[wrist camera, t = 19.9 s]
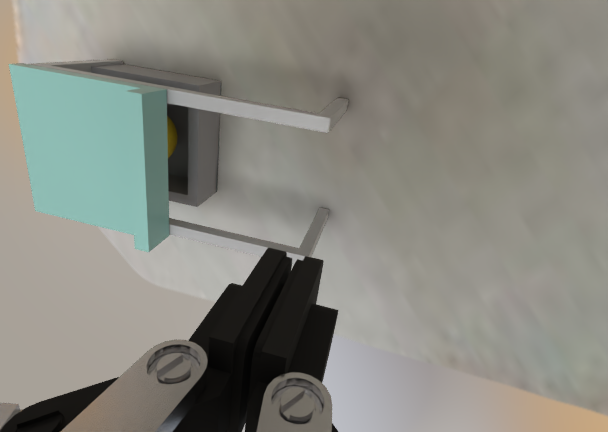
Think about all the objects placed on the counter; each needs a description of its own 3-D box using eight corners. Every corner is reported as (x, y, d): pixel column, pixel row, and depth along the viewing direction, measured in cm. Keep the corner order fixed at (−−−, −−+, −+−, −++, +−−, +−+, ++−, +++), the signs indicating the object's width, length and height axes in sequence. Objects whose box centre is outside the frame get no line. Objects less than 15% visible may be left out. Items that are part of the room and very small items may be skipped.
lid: (23, 63, 30) (-15, 65, 27) (166, 89, 28) (141, 93, 25) (46, 205, 35) (17, 219, 32) (169, 235, 33) (148, 252, 30)
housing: (113, 59, 39) (27, 64, 30) (348, 99, 35) (330, 118, 26) (122, 173, 44) (50, 206, 35) (327, 218, 40) (306, 267, 31)
